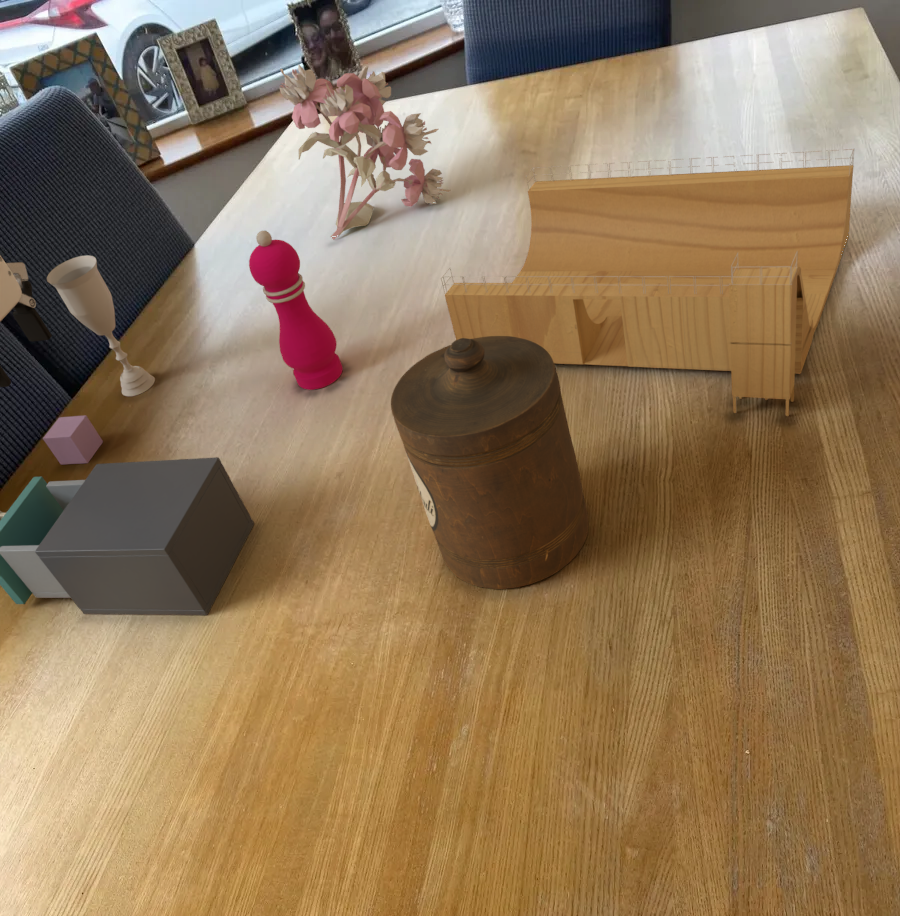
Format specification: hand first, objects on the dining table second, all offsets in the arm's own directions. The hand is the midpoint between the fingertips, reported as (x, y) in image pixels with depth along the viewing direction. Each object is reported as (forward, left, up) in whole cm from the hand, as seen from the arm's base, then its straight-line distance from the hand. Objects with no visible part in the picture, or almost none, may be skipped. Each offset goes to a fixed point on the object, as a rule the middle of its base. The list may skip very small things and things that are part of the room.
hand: (21, 362), depth 115 cm
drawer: (+6, -24, -13) cm, 28 cm away
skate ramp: (+75, +1, -14) cm, 76 cm away
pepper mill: (+33, +5, -14) cm, 36 cm away
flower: (+43, +49, -14) cm, 67 cm away
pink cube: (0, 0, -14) cm, 14 cm away
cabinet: (+18, -27, -14) cm, 35 cm away
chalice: (+5, +14, -14) cm, 21 cm away
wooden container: (+56, -33, -14) cm, 67 cm away
